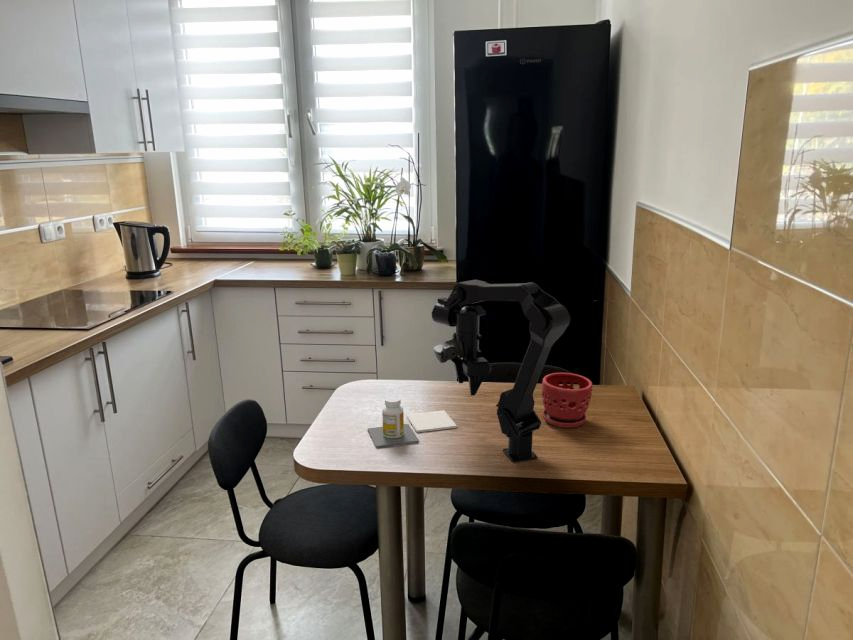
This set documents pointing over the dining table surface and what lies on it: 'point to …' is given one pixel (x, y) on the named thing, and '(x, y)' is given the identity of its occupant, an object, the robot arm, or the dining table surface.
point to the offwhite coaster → (431, 421)
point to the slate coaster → (383, 441)
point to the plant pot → (565, 399)
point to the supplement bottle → (393, 418)
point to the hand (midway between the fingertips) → (466, 389)
